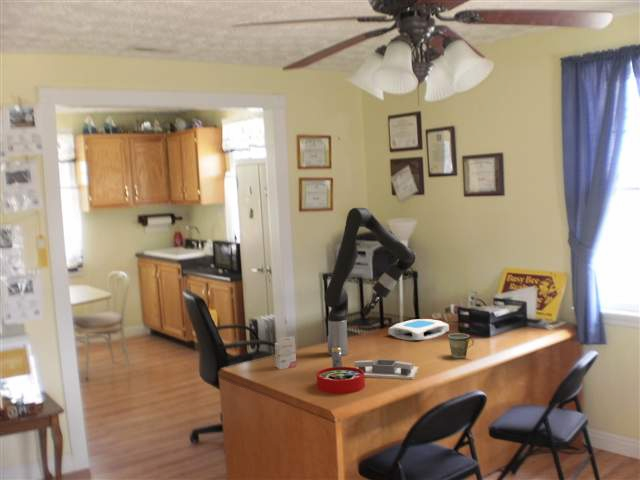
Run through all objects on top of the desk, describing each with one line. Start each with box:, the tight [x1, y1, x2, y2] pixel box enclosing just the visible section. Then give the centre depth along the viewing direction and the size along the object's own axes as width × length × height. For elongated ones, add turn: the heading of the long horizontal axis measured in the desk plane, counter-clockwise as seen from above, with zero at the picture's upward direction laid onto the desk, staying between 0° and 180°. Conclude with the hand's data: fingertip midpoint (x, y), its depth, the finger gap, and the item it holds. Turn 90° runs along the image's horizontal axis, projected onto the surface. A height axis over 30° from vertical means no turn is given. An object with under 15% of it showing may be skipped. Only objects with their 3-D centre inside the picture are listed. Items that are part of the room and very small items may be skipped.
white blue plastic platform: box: [387, 318, 450, 341], centre depth 365 cm, size 21×28×6 cm
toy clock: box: [316, 366, 366, 395], centre depth 277 cm, size 20×6×20 cm
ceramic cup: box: [447, 333, 474, 359], centre depth 316 cm, size 13×10×10 cm
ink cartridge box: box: [274, 335, 297, 370], centre depth 309 cm, size 9×5×15 cm, turn 117°
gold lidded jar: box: [331, 347, 343, 368], centre depth 302 cm, size 4×4×10 cm
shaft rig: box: [354, 358, 419, 380], centre depth 294 cm, size 27×16×6 cm, turn 73°
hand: (363, 313), depth 302 cm, fingers open, 8 cm apart
